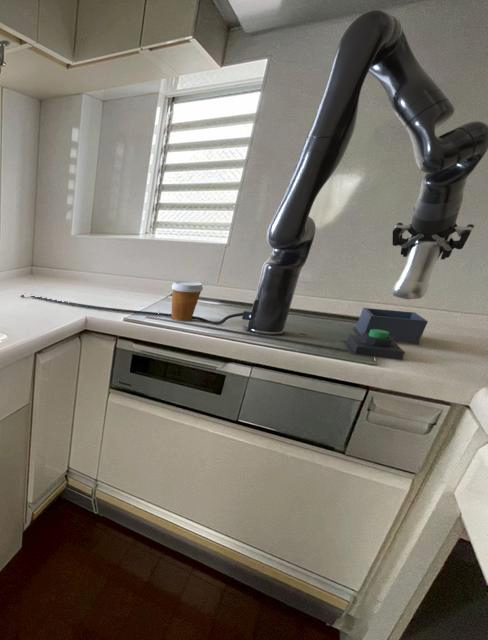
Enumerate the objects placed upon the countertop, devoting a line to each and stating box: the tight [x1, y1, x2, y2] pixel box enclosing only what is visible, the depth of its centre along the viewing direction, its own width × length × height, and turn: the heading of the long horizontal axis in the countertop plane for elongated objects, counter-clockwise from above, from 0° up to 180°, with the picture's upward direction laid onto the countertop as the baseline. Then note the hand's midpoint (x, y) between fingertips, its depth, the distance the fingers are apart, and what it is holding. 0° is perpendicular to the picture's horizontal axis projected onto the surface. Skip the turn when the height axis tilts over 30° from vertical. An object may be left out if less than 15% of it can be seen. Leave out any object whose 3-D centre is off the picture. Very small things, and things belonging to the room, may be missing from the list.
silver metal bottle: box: [391, 240, 444, 300], centre depth 107 cm, size 6×7×20 cm
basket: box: [355, 307, 429, 345], centre depth 117 cm, size 12×12×7 cm
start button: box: [368, 329, 389, 339], centre depth 104 cm, size 4×4×2 cm
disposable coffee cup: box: [170, 280, 204, 322], centre depth 135 cm, size 10×10×12 cm
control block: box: [346, 333, 406, 361], centre depth 105 cm, size 9×12×4 cm
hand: (424, 255), depth 107 cm, fingers closed on silver metal bottle, 6 cm apart
